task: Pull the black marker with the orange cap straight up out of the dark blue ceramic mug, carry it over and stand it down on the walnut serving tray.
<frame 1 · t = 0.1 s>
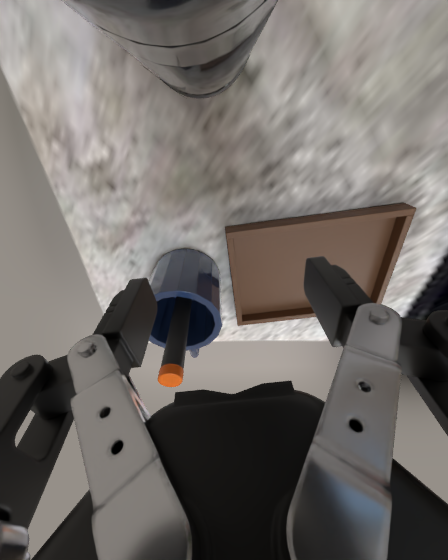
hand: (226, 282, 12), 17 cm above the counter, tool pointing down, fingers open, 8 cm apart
tray: (307, 268, 32), on the counter
mug: (187, 277, 32), on the counter
marker: (187, 279, 32), point 1 cm above the counter, touching mug
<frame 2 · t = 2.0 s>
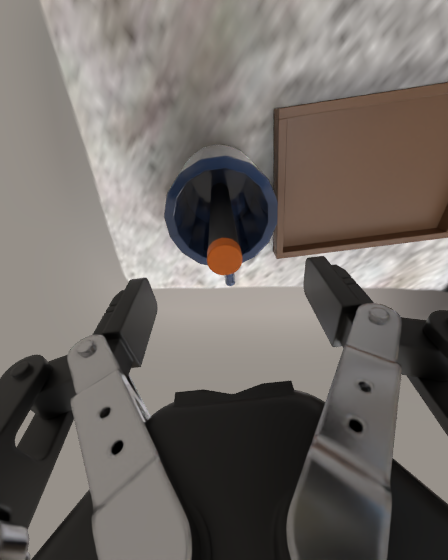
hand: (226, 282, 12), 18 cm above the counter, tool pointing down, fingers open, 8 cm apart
tray: (368, 179, 26), on the counter
mug: (219, 191, 26), on the counter
marker: (219, 192, 25), point 1 cm above the counter, touching mug
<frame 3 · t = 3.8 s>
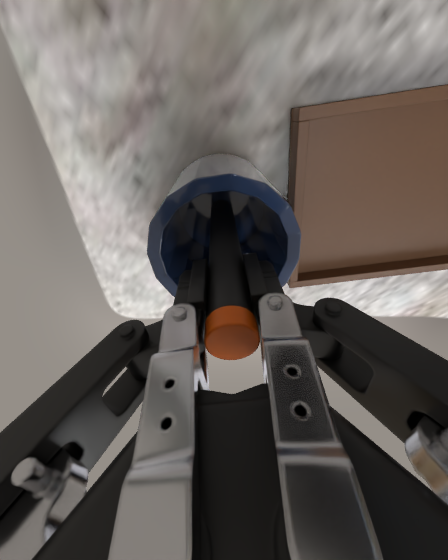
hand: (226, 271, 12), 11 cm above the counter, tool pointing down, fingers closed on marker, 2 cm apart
tray: (404, 195, 21), on the counter
mug: (221, 209, 21), on the counter
marker: (221, 211, 21), point 1 cm above the counter, touching gripper
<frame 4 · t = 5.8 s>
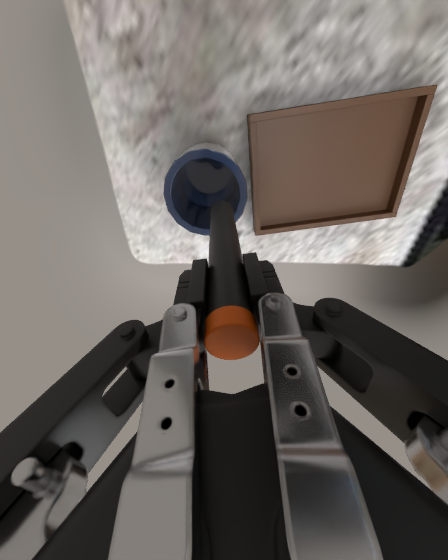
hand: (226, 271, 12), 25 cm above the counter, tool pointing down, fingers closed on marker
tray: (326, 169, 32), on the counter
mug: (207, 179, 33), on the counter
marker: (221, 211, 21), point 15 cm above the counter, touching gripper
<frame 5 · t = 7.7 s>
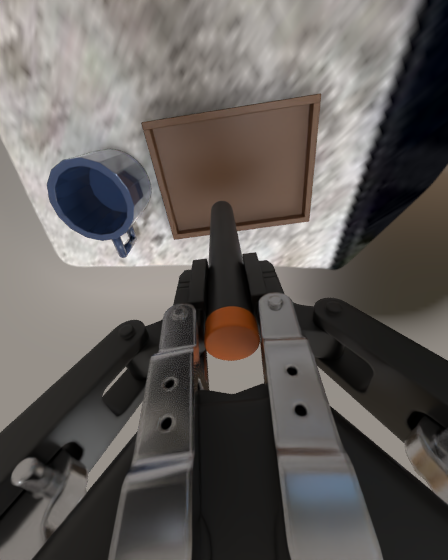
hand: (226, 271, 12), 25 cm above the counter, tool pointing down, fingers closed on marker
tray: (234, 175, 33), on the counter
mug: (119, 184, 33), on the counter
marker: (221, 211, 21), point 15 cm above the counter, touching gripper
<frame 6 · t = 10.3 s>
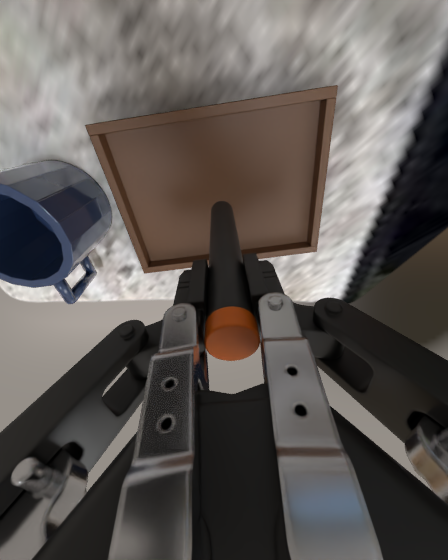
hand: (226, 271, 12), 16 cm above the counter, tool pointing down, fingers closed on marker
tray: (220, 194, 25), on the counter
mug: (68, 206, 25), on the counter
marker: (221, 211, 21), point 6 cm above the counter, touching gripper
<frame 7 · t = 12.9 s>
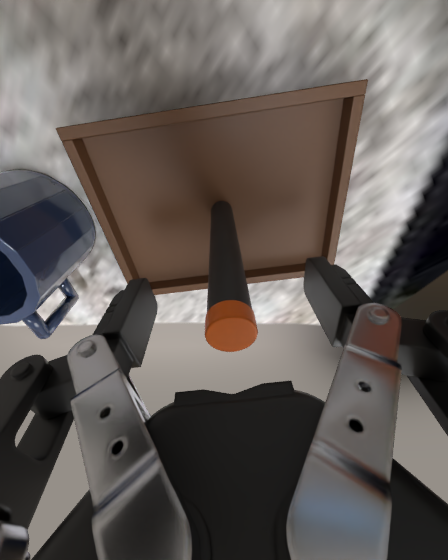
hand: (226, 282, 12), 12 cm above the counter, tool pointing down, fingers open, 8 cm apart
tray: (221, 208, 22), on the counter
mug: (44, 221, 22), on the counter
marker: (221, 211, 21), resting on tray
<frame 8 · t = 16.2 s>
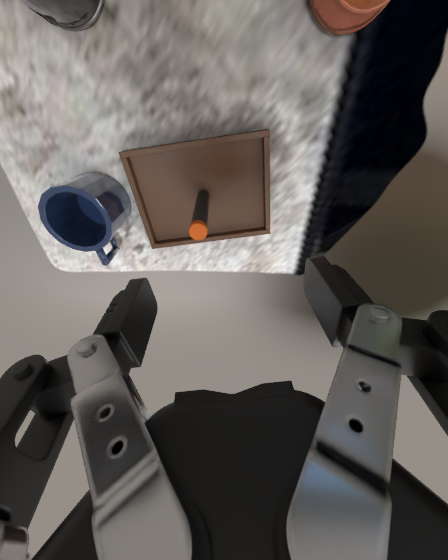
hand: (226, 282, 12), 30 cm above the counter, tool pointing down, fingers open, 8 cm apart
tray: (203, 194, 38), on the counter
mug: (102, 202, 38), on the counter
marker: (203, 195, 38), resting on tray
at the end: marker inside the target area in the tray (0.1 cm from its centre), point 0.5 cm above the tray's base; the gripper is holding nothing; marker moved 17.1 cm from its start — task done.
